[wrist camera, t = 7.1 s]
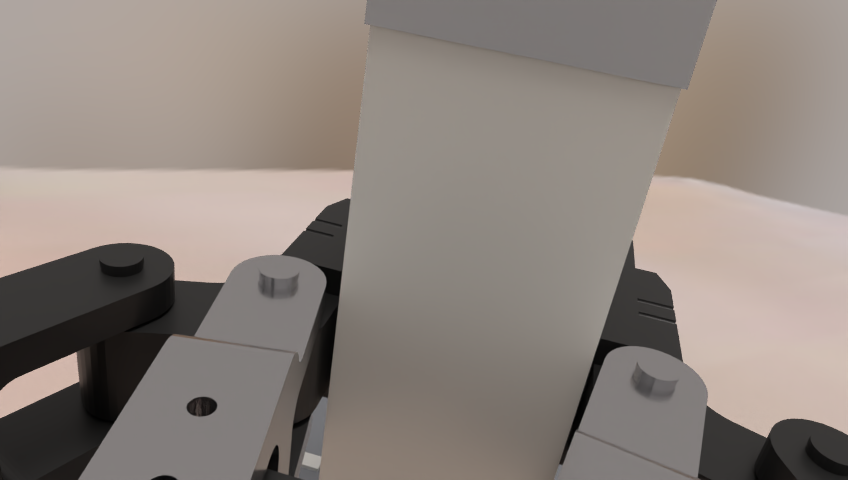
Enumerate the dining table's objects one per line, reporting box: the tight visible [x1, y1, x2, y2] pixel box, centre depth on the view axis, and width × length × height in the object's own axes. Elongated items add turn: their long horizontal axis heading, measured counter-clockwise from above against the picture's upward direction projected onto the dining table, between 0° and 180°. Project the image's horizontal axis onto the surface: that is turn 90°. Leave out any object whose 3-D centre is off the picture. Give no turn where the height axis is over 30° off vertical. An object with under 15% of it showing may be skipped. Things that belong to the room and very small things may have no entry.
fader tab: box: [319, 0, 717, 480], centre depth 10 cm, size 4×4×13 cm
